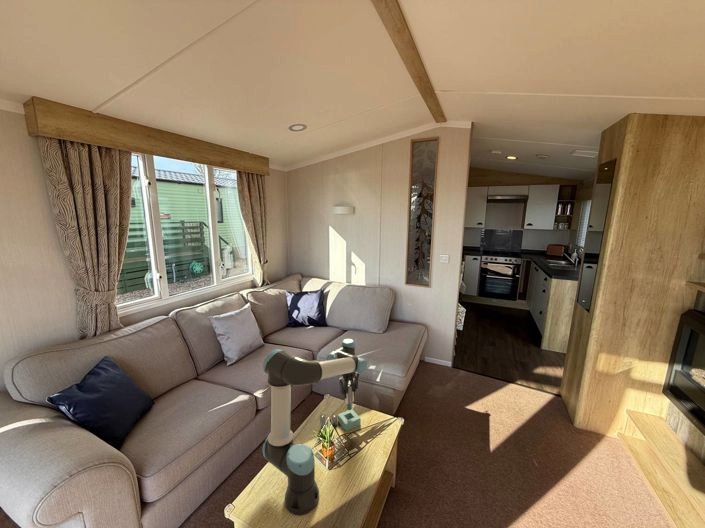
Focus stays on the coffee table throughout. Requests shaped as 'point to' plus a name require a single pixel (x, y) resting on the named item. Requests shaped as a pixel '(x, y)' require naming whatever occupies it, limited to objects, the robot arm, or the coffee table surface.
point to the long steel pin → (349, 397)
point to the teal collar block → (349, 419)
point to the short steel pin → (334, 419)
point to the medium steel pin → (322, 421)
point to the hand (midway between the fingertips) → (349, 401)
